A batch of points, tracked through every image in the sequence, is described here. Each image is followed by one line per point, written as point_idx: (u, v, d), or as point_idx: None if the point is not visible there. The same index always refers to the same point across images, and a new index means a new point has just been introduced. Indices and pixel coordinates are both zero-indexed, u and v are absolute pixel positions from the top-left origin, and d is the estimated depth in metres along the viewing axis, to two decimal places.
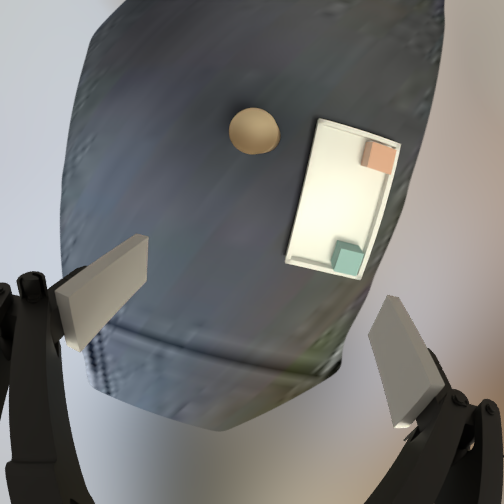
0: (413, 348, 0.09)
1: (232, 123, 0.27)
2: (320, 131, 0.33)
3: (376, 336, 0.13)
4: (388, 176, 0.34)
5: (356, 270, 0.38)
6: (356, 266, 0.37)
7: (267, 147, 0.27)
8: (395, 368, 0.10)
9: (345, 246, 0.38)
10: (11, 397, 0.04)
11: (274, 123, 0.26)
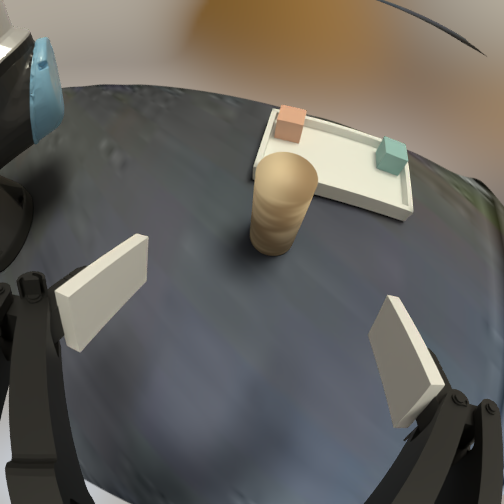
0: (413, 348, 0.09)
1: (276, 195, 0.20)
2: None
3: (376, 336, 0.13)
4: (306, 119, 0.36)
5: (400, 143, 0.33)
6: (397, 143, 0.33)
7: (307, 162, 0.22)
8: (395, 368, 0.10)
9: (381, 154, 0.34)
10: (11, 397, 0.04)
11: (277, 153, 0.22)
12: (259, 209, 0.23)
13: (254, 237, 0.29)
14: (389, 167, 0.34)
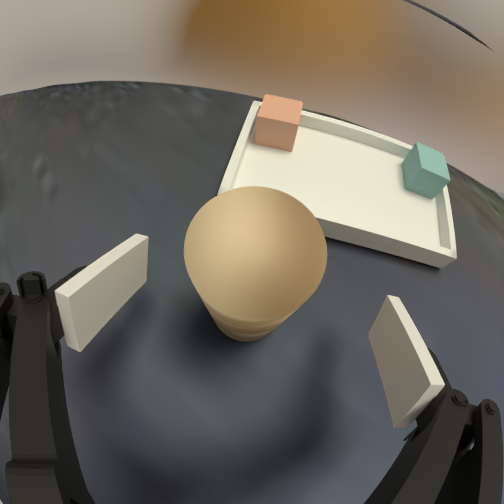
0: (413, 348, 0.09)
1: (228, 306, 0.09)
2: None
3: (376, 336, 0.13)
4: (302, 116, 0.25)
5: (437, 153, 0.21)
6: (433, 152, 0.21)
7: (305, 211, 0.10)
8: (395, 368, 0.10)
9: (413, 169, 0.22)
10: (11, 397, 0.04)
11: (237, 191, 0.10)
12: (205, 305, 0.12)
13: None
14: (423, 188, 0.22)
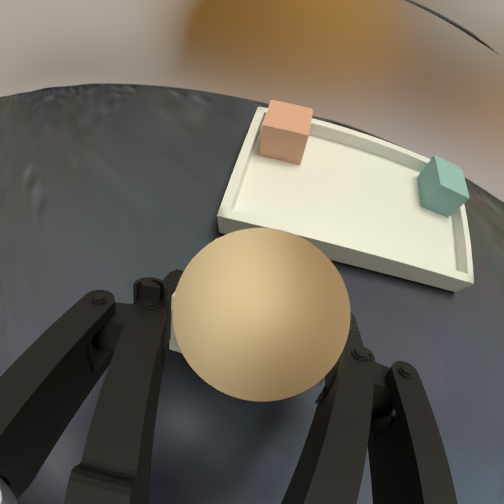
0: None
1: (228, 386, 0.07)
2: (245, 214, 0.18)
3: None
4: (311, 124, 0.22)
5: (455, 167, 0.19)
6: (451, 167, 0.19)
7: (324, 262, 0.08)
8: None
9: (431, 185, 0.20)
10: (100, 400, 0.05)
11: (239, 235, 0.08)
12: None
13: None
14: (440, 205, 0.20)
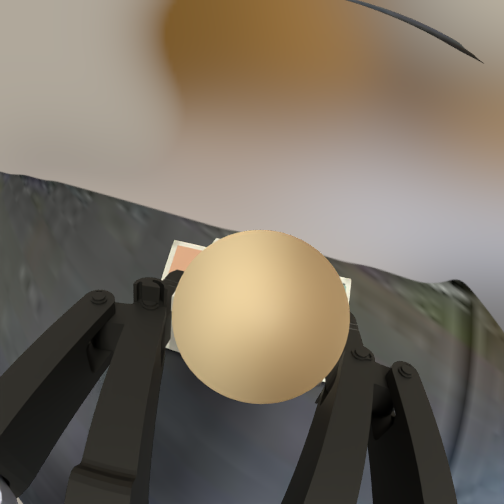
0: None
1: (227, 389, 0.07)
2: None
3: None
4: None
5: None
6: None
7: (324, 264, 0.08)
8: None
9: None
10: (100, 400, 0.05)
11: (238, 237, 0.08)
12: None
13: None
14: None
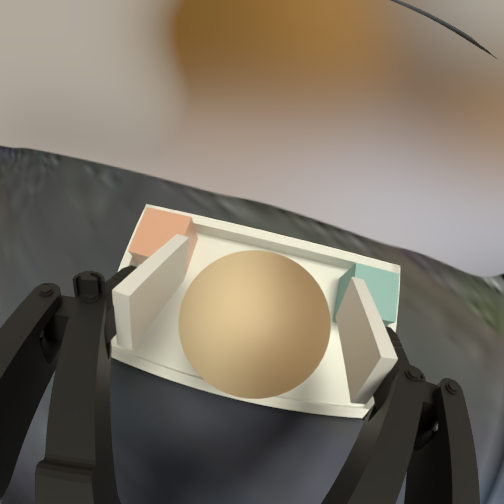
0: (368, 323, 0.11)
1: (225, 386, 0.08)
2: (114, 350, 0.17)
3: (341, 316, 0.14)
4: (201, 225, 0.21)
5: (388, 274, 0.18)
6: (381, 276, 0.18)
7: (309, 280, 0.09)
8: (354, 345, 0.11)
9: None
10: (53, 396, 0.05)
11: (235, 256, 0.10)
12: None
13: None
14: None
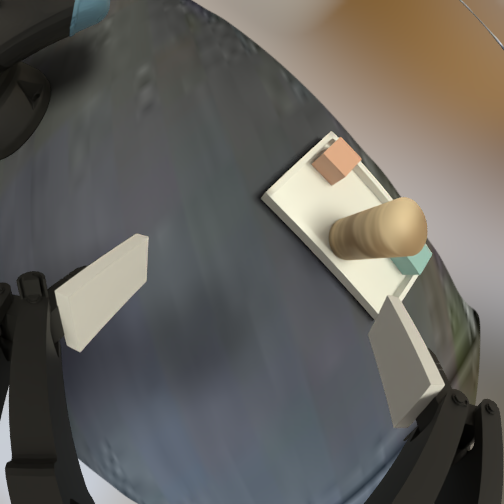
0: (413, 348, 0.09)
1: (392, 241, 0.20)
2: (280, 201, 0.29)
3: (376, 336, 0.13)
4: None
5: (427, 250, 0.30)
6: (424, 248, 0.30)
7: (425, 224, 0.21)
8: (395, 368, 0.10)
9: None
10: (11, 397, 0.04)
11: (410, 200, 0.21)
12: (367, 232, 0.23)
13: (337, 237, 0.29)
14: (400, 264, 0.32)
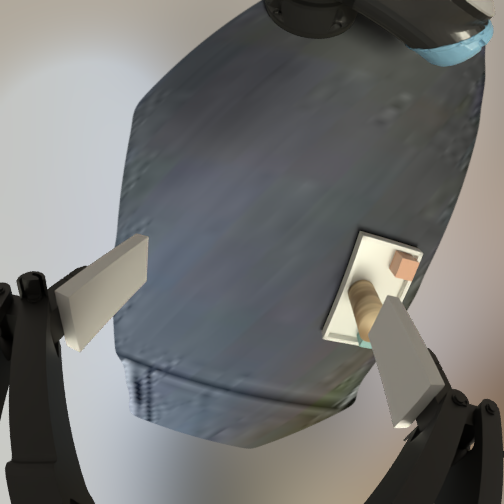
0: (413, 348, 0.09)
1: (363, 324, 0.37)
2: (362, 246, 0.42)
3: (376, 336, 0.13)
4: None
5: None
6: None
7: None
8: (395, 368, 0.10)
9: None
10: (11, 397, 0.04)
11: None
12: (364, 307, 0.39)
13: (358, 287, 0.44)
14: None
